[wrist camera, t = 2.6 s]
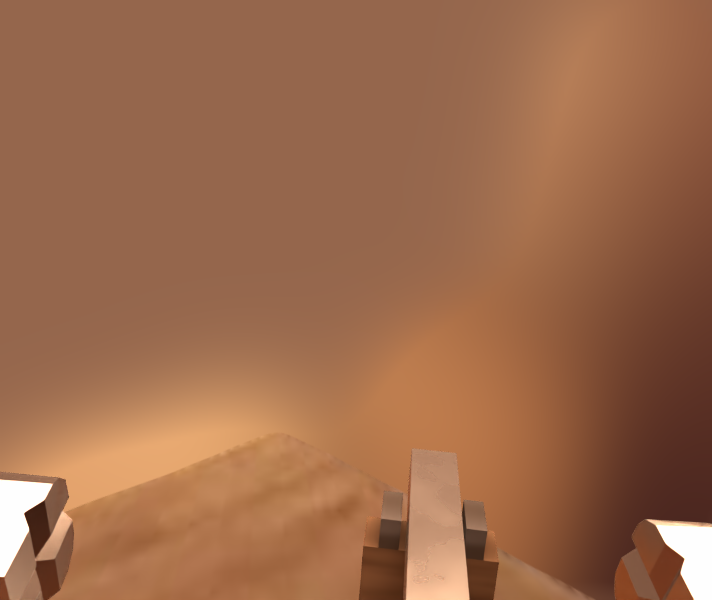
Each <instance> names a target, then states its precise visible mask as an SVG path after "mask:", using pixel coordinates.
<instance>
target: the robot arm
mask: <svg viewBox="0 0 712 600" xmlns="http://www.w3.org/2000/svg"><path fill="white" fill-rule="evenodd" d="M68 498H69V496H68V490H67V485H66V480H64V479H62V478H57V477H47V476H37V475H26V474H16V473H6V472H0V600H48V599H49V598H51V597H52V596H53V595H55V594H56V593H57V592H58V591H60V589H61V586H62V584H63V581H64V579H65V577H66V574H67V572H68V568H69V564H70V559H71V555H72V551H73V539H74V530H73V522H72V519H71V518H69V517H68V516H67V515H66V514H65V513H64V512H63V509H64V506H65V504H66V502H67V500H68ZM632 539H633V541H634V544H635V546H636V549H634V550H633V551H631V552H630V553H628V554H627V555H625V556H623V557H622V558H621V561H620V563H619V566H618V568H617V570H616V573H615V590H614V591H615V592H614V593H615V597H616V600H712V524H709V523H697V522H680V521H663V520H647V519H646V520H644V521H642V522H641V523H640V524H638V525H637V527H636V529H635V531H634V533H633V535H632Z"/></svg>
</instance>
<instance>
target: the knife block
mask: <svg viewBox="0 0 712 600" xmlns="http://www.w3.org/2000/svg"><path fill="white" fill-rule="evenodd" d="M402 502H403V493H400V492H391V491H384V496H383V505H382V514H381V518H376V517H367V524H366V531H365V538H364V545H363V557H362V569H361V582H360V594H359V600H403V590H404V568H405V547H406V525H407V521H401V519H402ZM462 522H463V533H464V544H465V555H466V566H467V577H468V588H469V599H470V600H493V598H494V591H495V584H496V578H497V571H498V564H499V561H498V554H497V548H496V542H495V536H494V532H493V531H487V525H486V518H485V511H484V505H483V502H478V501H470V500H464V502H463V511H462Z"/></svg>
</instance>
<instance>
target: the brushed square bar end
mask: <svg viewBox="0 0 712 600" xmlns="http://www.w3.org/2000/svg"><path fill="white" fill-rule="evenodd" d="M403 600H470V599H469V588H468V577H467V566H466V555H465V544H464V533H463V522H462V511H461V500H460V489H459V478H458V468H457V456H456V453H449V452H439V451H431V450H422V449H412V455H411V465H410V475H409V485H408V504H407V525H406V547H405V568H404V590H403Z"/></svg>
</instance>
